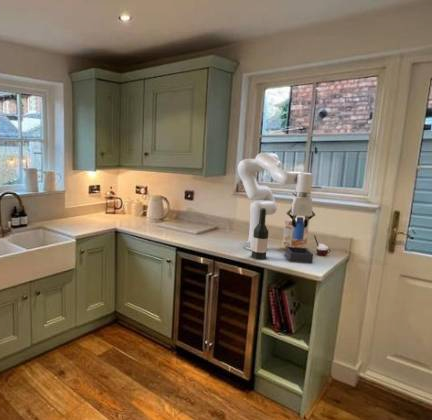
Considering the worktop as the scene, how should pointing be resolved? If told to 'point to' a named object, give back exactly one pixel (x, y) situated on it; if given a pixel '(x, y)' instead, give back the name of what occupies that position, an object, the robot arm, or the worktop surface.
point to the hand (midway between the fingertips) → (299, 226)
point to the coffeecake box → (288, 236)
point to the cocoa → (321, 248)
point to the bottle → (299, 229)
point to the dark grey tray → (299, 254)
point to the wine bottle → (260, 238)
